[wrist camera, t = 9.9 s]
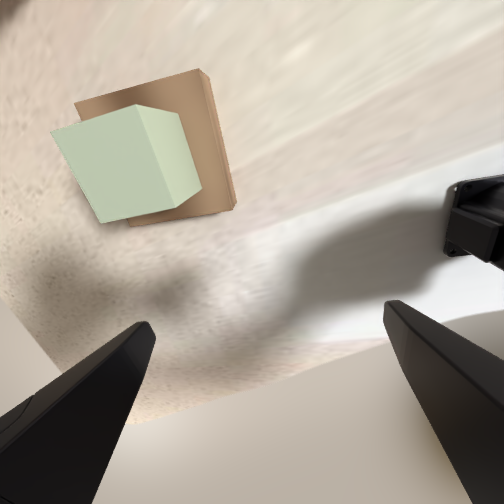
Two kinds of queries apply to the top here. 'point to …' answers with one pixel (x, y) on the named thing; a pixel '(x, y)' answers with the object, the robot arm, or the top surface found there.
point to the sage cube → (130, 161)
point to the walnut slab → (196, 132)
